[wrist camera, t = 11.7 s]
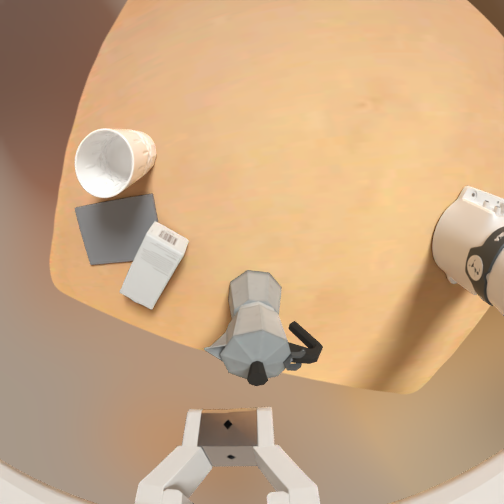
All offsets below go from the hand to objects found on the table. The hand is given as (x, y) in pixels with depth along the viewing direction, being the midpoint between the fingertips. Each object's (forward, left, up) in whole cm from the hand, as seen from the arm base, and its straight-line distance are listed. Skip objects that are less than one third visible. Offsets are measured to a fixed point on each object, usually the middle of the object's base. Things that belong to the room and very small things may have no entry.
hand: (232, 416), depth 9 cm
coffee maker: (-1, +16, -33) cm, 37 cm away
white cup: (+15, -8, -33) cm, 37 cm away
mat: (+20, +3, -33) cm, 39 cm away
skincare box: (+10, +4, -30) cm, 32 cm away
